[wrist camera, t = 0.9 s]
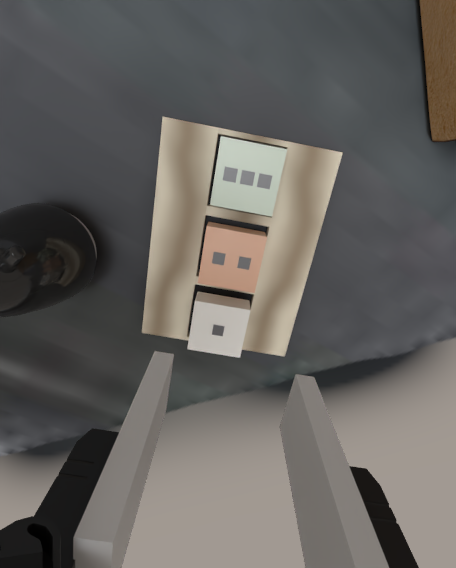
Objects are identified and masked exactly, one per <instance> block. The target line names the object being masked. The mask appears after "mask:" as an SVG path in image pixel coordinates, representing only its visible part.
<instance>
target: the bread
mask: <svg viewBox="0 0 456 568" xmlns="http://www.w3.org/2000/svg"><path fill="white" fill-rule="evenodd" d="M420 9H421V21H422V32H423V43H424V54H425V66H426V80H427V93H428V105H429V116H430V126H431V135H432V140H433V142H448V141H454V140H456V0H420Z"/></svg>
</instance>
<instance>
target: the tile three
mask: <svg viewBox="0 0 456 568" xmlns="http://www.w3.org/2000/svg"><path fill="white" fill-rule="evenodd" d="M286 153H287V149H283V148H278V147H273V146H268V145H263V144H258V143H253V142H248V141H243V140H238V139H233V138H228V137H223V136H221V138H220V145H219V151H218V157H217V164H216V170H215V176H214V183H213V189H212V195H211V202H210V205H213V206H218V207H223V208H229V209H234V210H239V211H245V212H250V213H255V214H261V215H266V216H271V217H272V214H273V210H274V205H275V201H276V197H277V192H278V188H279V183H280V179H281V175H282V170H283V166H284V161H285V157H286Z"/></svg>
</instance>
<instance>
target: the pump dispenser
mask: <svg viewBox="0 0 456 568" xmlns="http://www.w3.org/2000/svg"><path fill="white" fill-rule="evenodd" d="M96 259H97V251H96V245H95V242H94V239H93V237H92V235H91V233H90V231H89V230H88V229H87V227H86V226H85V225H84V224H83V223H82V222H81V221H80V220H79V219H77V218H76V217H75V216H73V215H71V214H70V213H68V212H66V211H65V210H63V209H61V208H58V207H56V206H53V205H49V204H42V203H32V204H25V205H21V206H17V207H14V208H11V209H9V210H6V211H4V212H2V213H0V317H10V316H16V315H21V314H26V313H30V312H34V311H37V310H41V309H44V308H47V307H50V306H53V305H55V304H58V303H60V302H62V301H65V300H67V299H69V298H71V297H73V296H74V295H76V294H77V293H79V292H80V291H81V290H83V289H84V288H85V287H86V286H87V285H88V284H89V282H90V281H91V279H92V277H93V275H94V272H95V268H96Z"/></svg>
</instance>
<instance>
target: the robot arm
mask: <svg viewBox="0 0 456 568" xmlns="http://www.w3.org/2000/svg"><path fill="white" fill-rule="evenodd" d="M173 357H174V354H170V353H164V352H158V351H155V352H154V354H153V356H152V359H151V361H150V363H149V365H148V368H147V370H146V372H145V375H144V377H143V379H142V381H141V384H140V386H139V388H138V391H137V393H136V395H135V398H134V400H133V402H132V404H131V407H130V409H129V411H128V414H127V416H126V418H125V420H124V423H123V425H122V427H121V430H120V432H112V431H106V430H99V429H91V430H90V431H89V432H88V433H86V434H85V435H84V436H83V437H82V438H81V439H80V440H78V441H77V443H76V444H75V446H74V448H73V450H72V451H71V453H70V455H69V457H68V459H67V461H66V462H65V463H64V465H63V467H62V469H61V470H60V472H59V475H58V477H56V479H55V481H54V482H53V484H52V486H51V488H50V490H49V491H48V493H47V495H46V496H45V498H44V500H43V502H42V503H41V505H40V507H39V508H38V510H37V512H36V514H35V515H34V517H28V518H24V519H21V520H18V521H15V522H13V523H12V524H10V525H8V526H7V527H5V528H3V529H2V530H0V568H121V567H122V564H123V561H124V557H125V554H126V550H127V546H128V543H129V539H130V535H131V532H132V529H133V525H134V522H135V518H136V514H137V511H138V507H139V504H140V500H141V497H142V493H143V489H144V486H145V483H146V479H147V475H148V472H149V468H150V465H151V461H152V458H153V454H154V450H155V447H156V443H157V440H158V436H159V433H160V429H161V425H162V422H163V419H164V415H165V411H166V407H167V400H168V393H169V386H170V379H171V372H172V365H173ZM280 431H281V436H282V442H283V447H284V453H285V458H286V464H287V469H288V474H289V480H290V486H291V491H292V497H293V502H294V507H295V513H296V518H297V524H298V529H299V535H300V540H301V546H302V551H303V557H304V562H305V568H419V567H418V565H417V563H416V561H415V559H414V557H413V554H412V552H411V550H410V548H409V546H408V544H407V542H406V539H405V537H404V535H403V533H402V531H401V529H400V527H399V525H398V524H397V523H396V518H395V516H394V514H393V512H392V510H391V508H389V503H388V501H387V499H386V497H385V495H384V493H383V490H382V488H381V486H380V485H379V483H378V482H377V481H376V480H375V479H374V477H373V476H372V475H371V474H370V472H369V471H368V470H367V469H365V468H357V467H351V466H349V465H348V462H347V460H346V457H345V454H344V452H343V449H342V447H341V444H340V442H339V439H338V437H337V434H336V431H335V429H334V426H333V424H332V421H331V419H330V416H329V414H328V411H327V409H326V406H325V404H324V401H323V399H322V396H321V393H320V391H319V388H318V386H317V383H316V381H315V378H314V377H310V376H304V375H298V374H296V375H295V378H294V381H293V385H292V388H291V391H290V395H289V398H288V401H287V404H286V408H285V411H284V414H283V417H282V421H281V424H280Z"/></svg>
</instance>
